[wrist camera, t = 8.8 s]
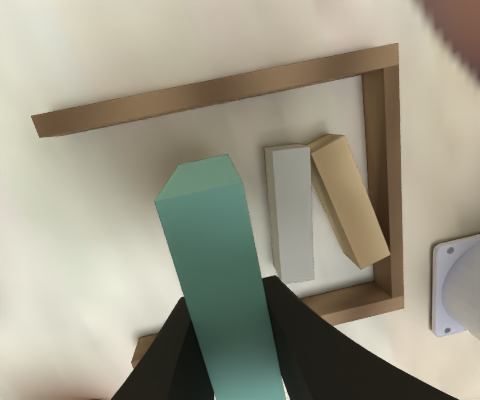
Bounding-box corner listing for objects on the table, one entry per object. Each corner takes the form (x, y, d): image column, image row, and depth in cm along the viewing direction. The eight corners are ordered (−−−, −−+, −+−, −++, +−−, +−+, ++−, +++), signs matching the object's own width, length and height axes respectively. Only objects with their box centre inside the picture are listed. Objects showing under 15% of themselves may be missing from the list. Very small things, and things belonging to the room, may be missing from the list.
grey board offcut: (295, 143, 16) (309, 146, 14) (300, 259, 19) (314, 279, 16) (263, 147, 16) (272, 151, 14) (272, 263, 19) (282, 284, 16)
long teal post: (228, 154, 11) (242, 182, 6) (268, 344, 14) (298, 463, 9) (178, 164, 11) (154, 201, 6) (230, 354, 14) (241, 478, 9)
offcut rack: (374, 52, 15) (398, 42, 13) (385, 290, 20) (404, 308, 18) (54, 116, 14) (30, 116, 12) (143, 349, 19) (135, 374, 17)
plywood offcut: (325, 133, 16) (345, 135, 14) (367, 237, 19) (390, 254, 16) (296, 149, 17) (311, 153, 14) (342, 251, 19) (361, 269, 16)
